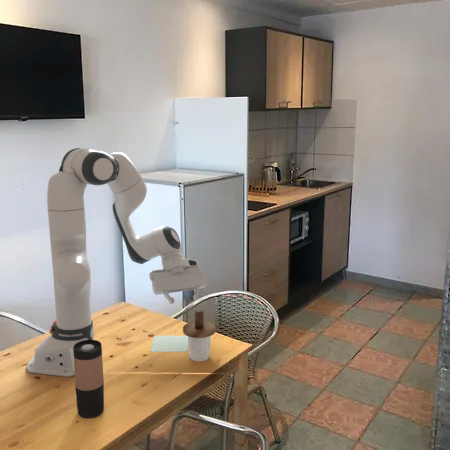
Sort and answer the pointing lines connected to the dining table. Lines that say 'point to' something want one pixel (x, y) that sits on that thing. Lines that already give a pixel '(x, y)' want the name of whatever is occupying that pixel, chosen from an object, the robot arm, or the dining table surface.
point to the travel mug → (89, 378)
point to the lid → (199, 326)
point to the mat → (169, 344)
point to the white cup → (199, 348)
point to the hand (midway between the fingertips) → (184, 301)
